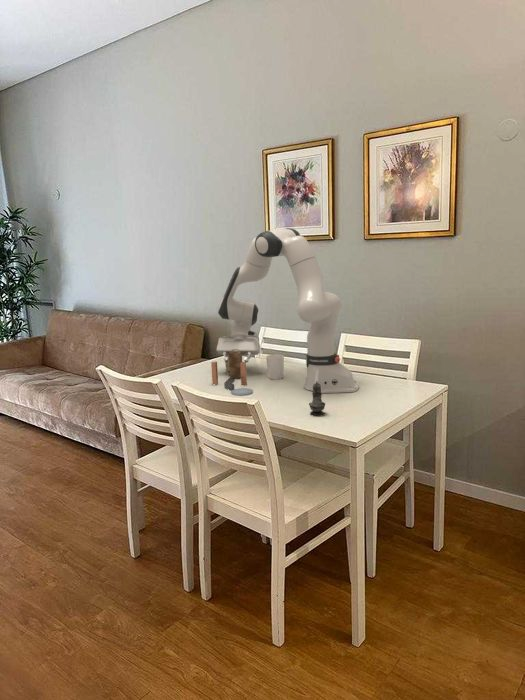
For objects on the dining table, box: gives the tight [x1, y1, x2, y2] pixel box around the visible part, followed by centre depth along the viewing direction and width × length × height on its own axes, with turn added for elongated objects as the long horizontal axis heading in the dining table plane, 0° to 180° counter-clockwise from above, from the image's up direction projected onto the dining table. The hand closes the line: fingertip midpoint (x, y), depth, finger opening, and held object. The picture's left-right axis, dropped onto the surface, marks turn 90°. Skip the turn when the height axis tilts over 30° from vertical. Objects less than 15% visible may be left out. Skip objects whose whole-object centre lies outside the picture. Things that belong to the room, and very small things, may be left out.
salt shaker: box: [308, 381, 326, 417], centre depth 184 cm, size 6×6×12 cm
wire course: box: [210, 361, 248, 391], centre depth 225 cm, size 15×15×10 cm
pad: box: [230, 387, 254, 397], centre depth 215 cm, size 9×9×1 cm
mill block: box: [229, 349, 243, 380], centre depth 237 cm, size 5×5×13 cm
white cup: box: [265, 353, 285, 380], centre depth 235 cm, size 8×8×10 cm
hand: (236, 361), depth 238 cm, fingers open, 8 cm apart
